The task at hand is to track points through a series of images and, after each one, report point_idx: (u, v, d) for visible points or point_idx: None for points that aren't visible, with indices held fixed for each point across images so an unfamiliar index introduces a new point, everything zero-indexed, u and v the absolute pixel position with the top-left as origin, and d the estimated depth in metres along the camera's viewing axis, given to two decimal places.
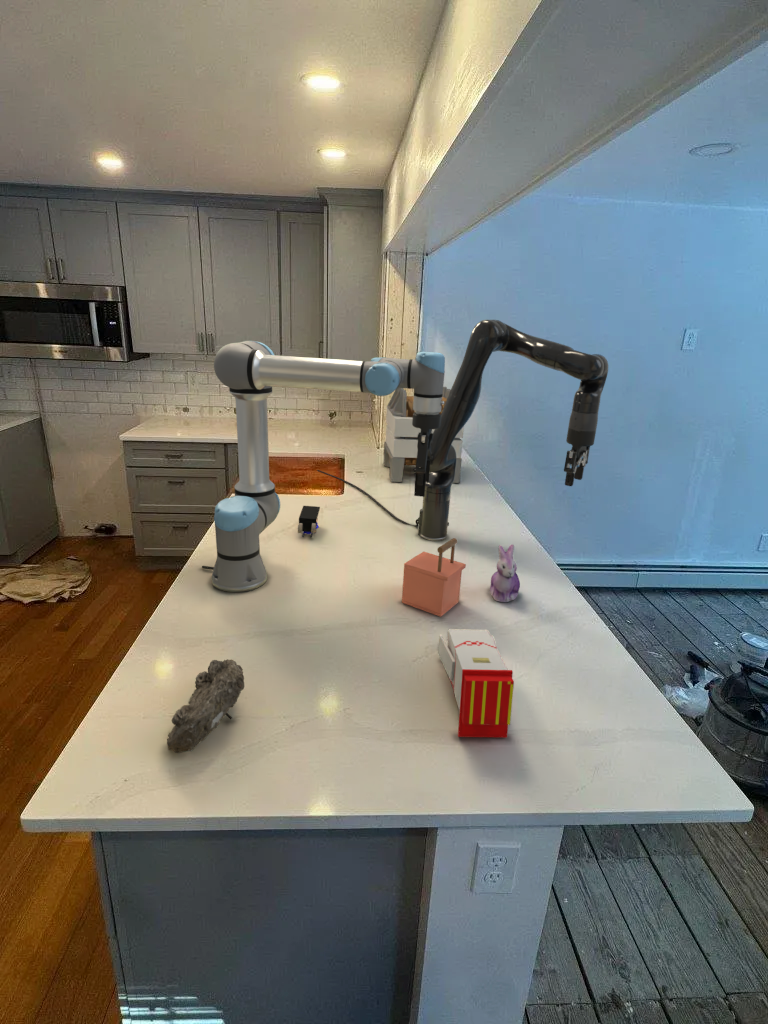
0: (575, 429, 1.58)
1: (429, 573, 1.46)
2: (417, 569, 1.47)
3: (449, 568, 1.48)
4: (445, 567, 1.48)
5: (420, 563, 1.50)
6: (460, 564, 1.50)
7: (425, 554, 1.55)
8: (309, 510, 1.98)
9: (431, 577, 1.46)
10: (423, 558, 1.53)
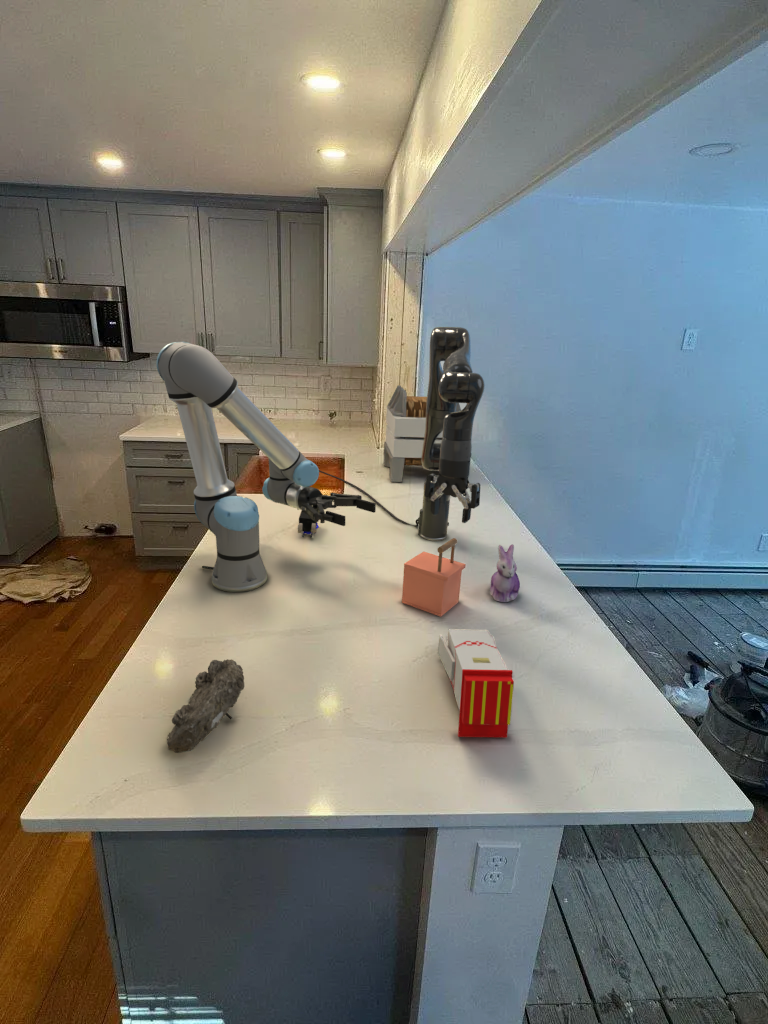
0: (467, 460, 1.36)
1: (429, 573, 1.46)
2: (417, 569, 1.47)
3: (449, 568, 1.48)
4: (445, 567, 1.48)
5: (420, 563, 1.50)
6: (460, 564, 1.50)
7: (425, 554, 1.55)
8: None
9: (431, 577, 1.46)
10: (423, 558, 1.53)
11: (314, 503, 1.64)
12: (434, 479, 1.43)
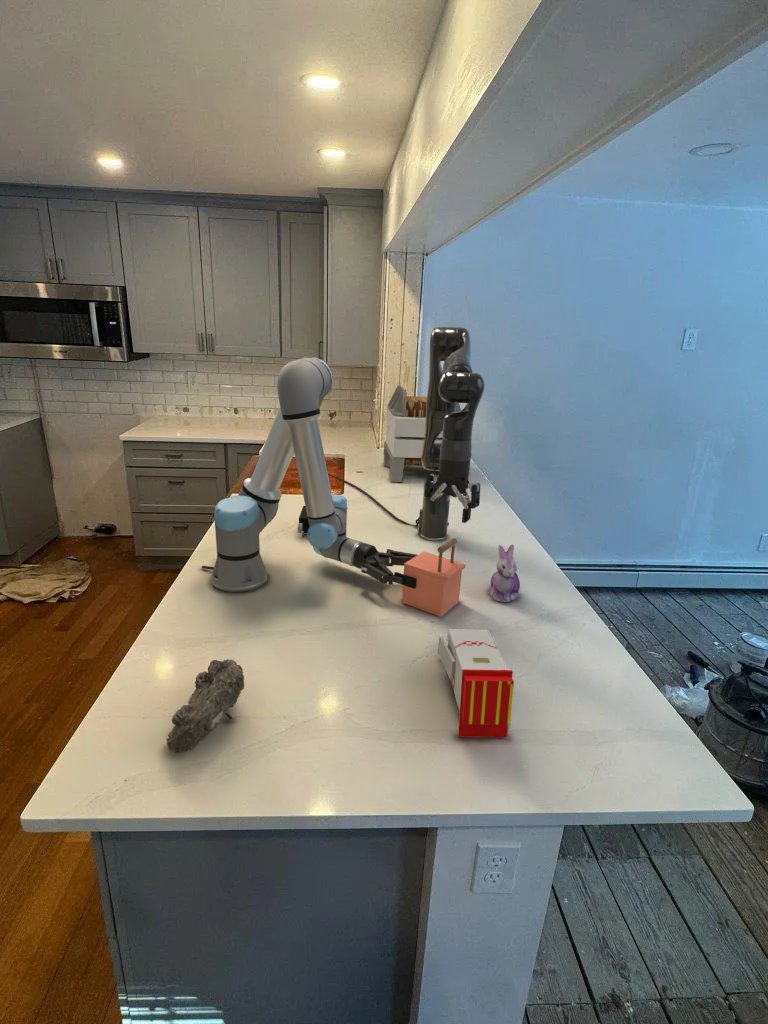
0: (467, 460, 1.36)
1: (429, 573, 1.46)
2: (417, 569, 1.47)
3: (449, 568, 1.48)
4: (445, 567, 1.48)
5: (420, 563, 1.50)
6: (460, 564, 1.50)
7: (425, 554, 1.55)
8: None
9: (431, 577, 1.46)
10: (423, 558, 1.53)
11: (373, 562, 1.58)
12: (434, 479, 1.43)
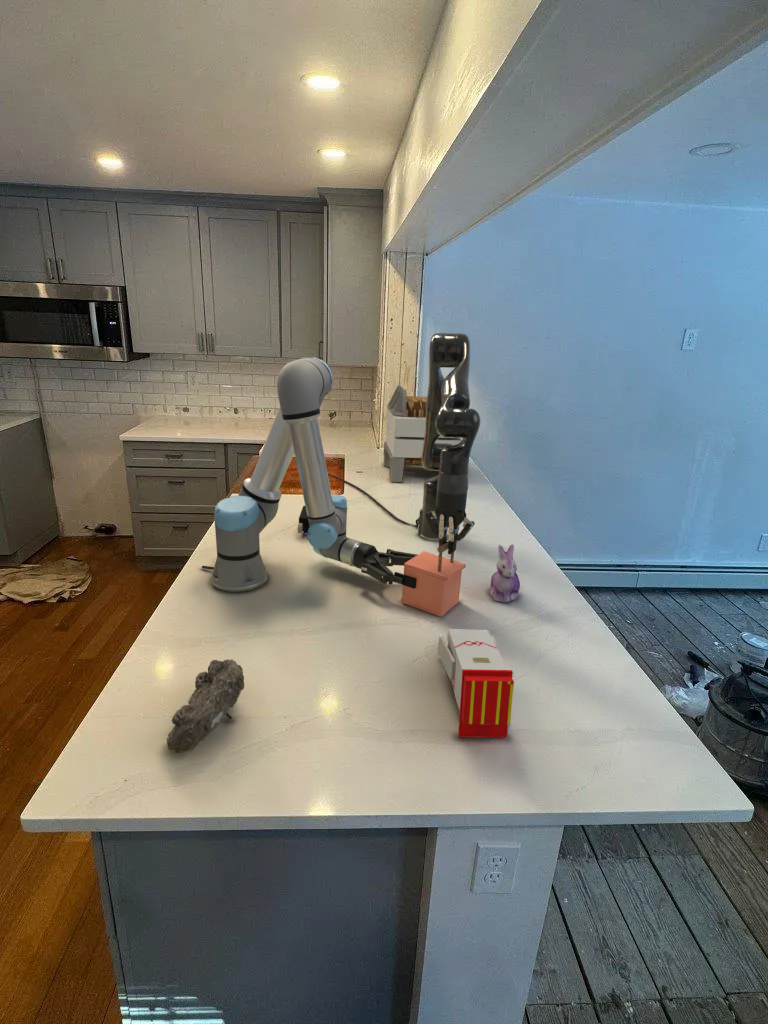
0: (464, 492, 1.39)
1: (429, 573, 1.46)
2: (417, 569, 1.47)
3: (449, 568, 1.48)
4: (445, 567, 1.48)
5: (420, 563, 1.50)
6: (460, 564, 1.50)
7: (425, 554, 1.55)
8: None
9: (431, 577, 1.46)
10: (423, 557, 1.53)
11: (373, 562, 1.58)
12: (433, 514, 1.46)
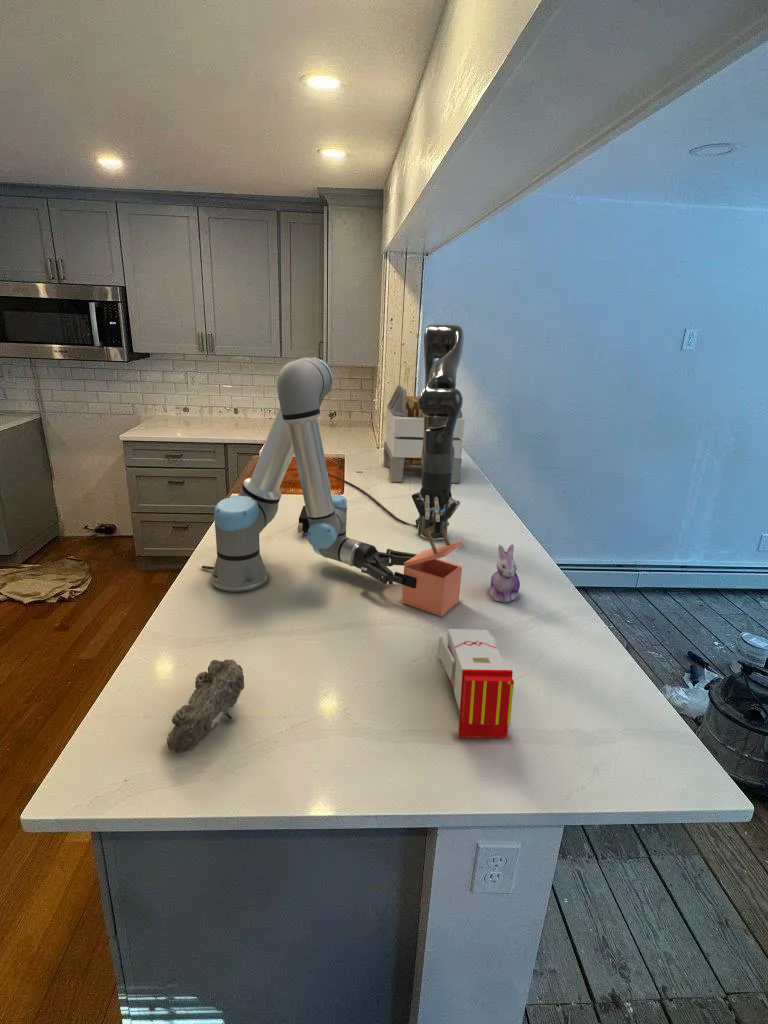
0: (448, 472, 1.40)
1: (427, 559, 1.45)
2: (416, 561, 1.47)
3: (445, 548, 1.47)
4: (442, 549, 1.47)
5: (418, 557, 1.50)
6: (456, 542, 1.49)
7: (424, 551, 1.55)
8: None
9: (431, 577, 1.46)
10: (422, 553, 1.53)
11: (373, 562, 1.58)
12: (419, 495, 1.47)
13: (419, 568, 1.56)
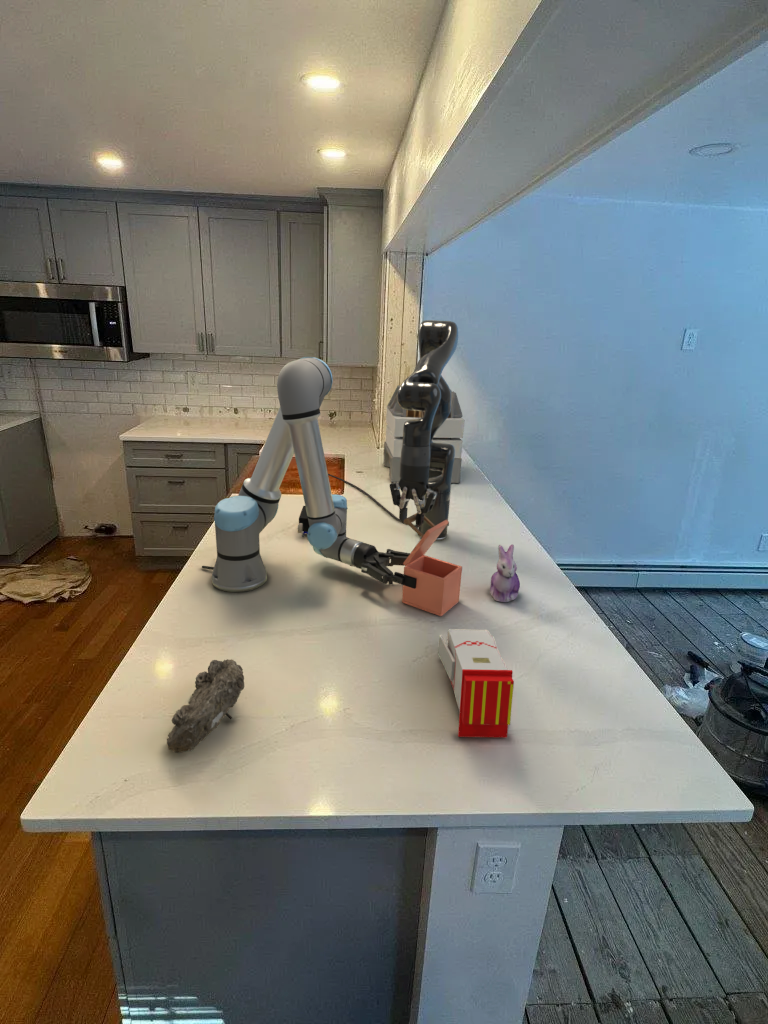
0: (425, 465, 1.43)
1: (418, 545, 1.45)
2: (411, 554, 1.47)
3: None
4: None
5: None
6: None
7: None
8: None
9: (431, 577, 1.46)
10: None
11: (373, 562, 1.58)
12: (397, 486, 1.50)
13: (419, 568, 1.56)
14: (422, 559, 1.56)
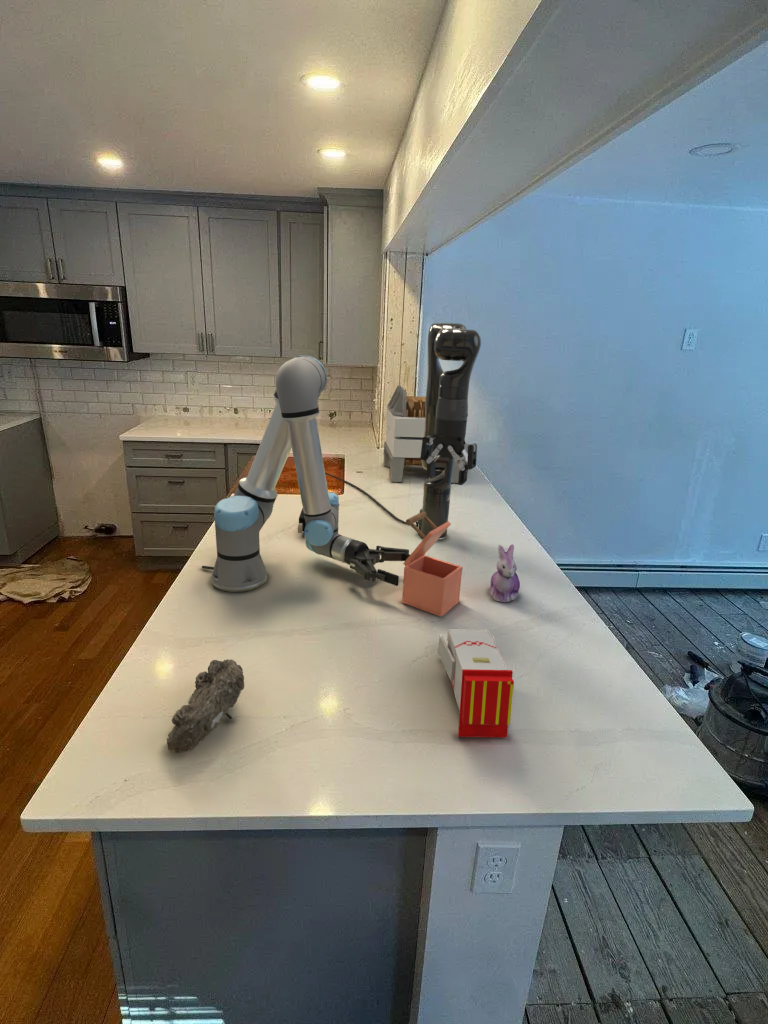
0: (463, 419, 1.34)
1: (419, 546, 1.45)
2: (412, 555, 1.47)
3: None
4: None
5: None
6: None
7: None
8: None
9: (431, 577, 1.46)
10: None
11: (363, 559, 1.60)
12: (430, 441, 1.41)
13: (419, 568, 1.56)
14: (422, 559, 1.56)
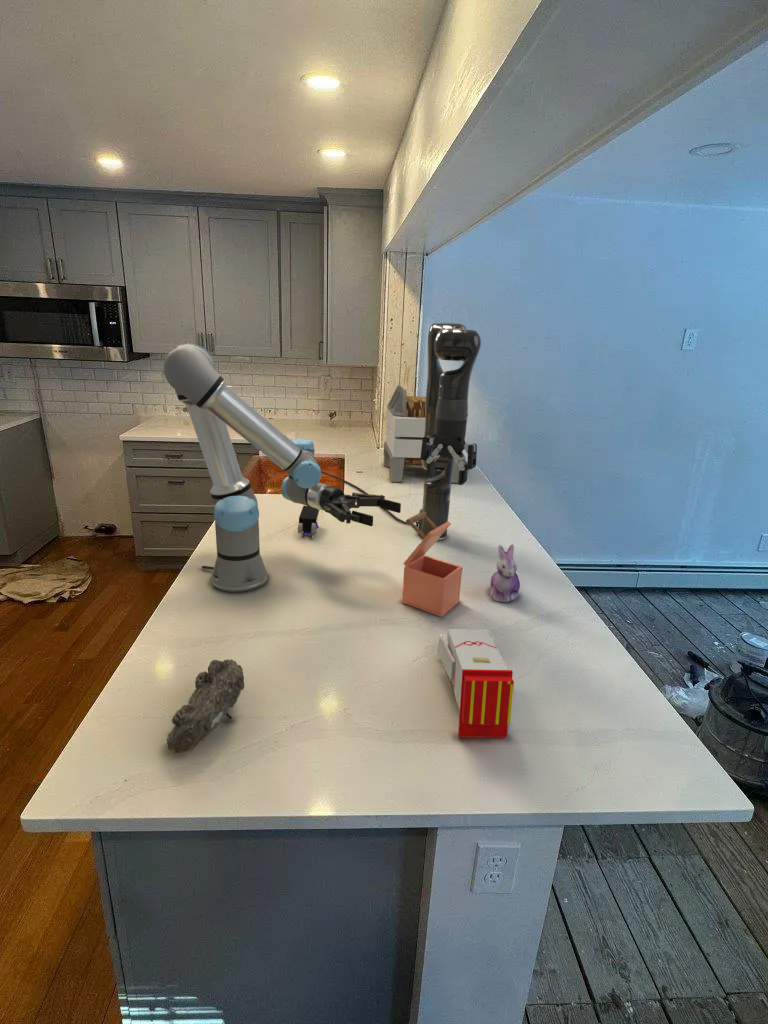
0: (463, 419, 1.34)
1: (419, 546, 1.45)
2: (412, 555, 1.47)
3: None
4: None
5: None
6: None
7: None
8: (309, 510, 1.98)
9: (431, 577, 1.46)
10: None
11: (338, 503, 1.59)
12: (430, 441, 1.41)
13: (419, 568, 1.56)
14: (422, 559, 1.56)
